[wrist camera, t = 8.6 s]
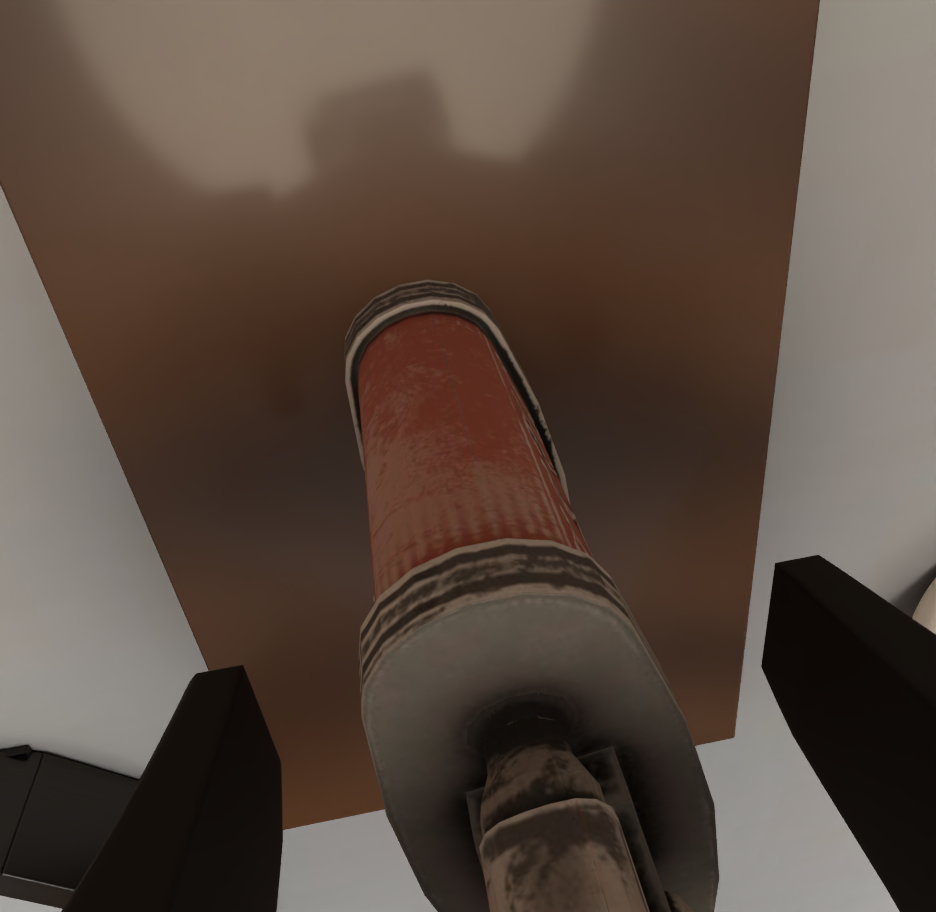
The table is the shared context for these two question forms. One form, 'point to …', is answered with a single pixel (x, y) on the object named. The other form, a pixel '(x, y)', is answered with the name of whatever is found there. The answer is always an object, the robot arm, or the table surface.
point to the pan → (53, 822)
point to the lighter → (506, 643)
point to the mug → (927, 609)
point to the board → (410, 260)
